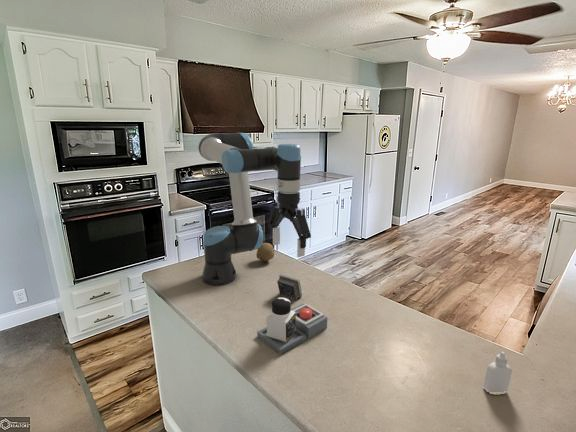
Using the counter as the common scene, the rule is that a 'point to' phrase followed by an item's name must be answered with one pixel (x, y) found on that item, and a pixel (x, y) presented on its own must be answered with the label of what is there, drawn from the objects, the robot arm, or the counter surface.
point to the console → (297, 330)
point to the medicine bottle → (281, 320)
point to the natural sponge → (265, 252)
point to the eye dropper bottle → (498, 374)
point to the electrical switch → (289, 287)
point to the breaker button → (305, 314)
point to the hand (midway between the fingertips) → (288, 250)
